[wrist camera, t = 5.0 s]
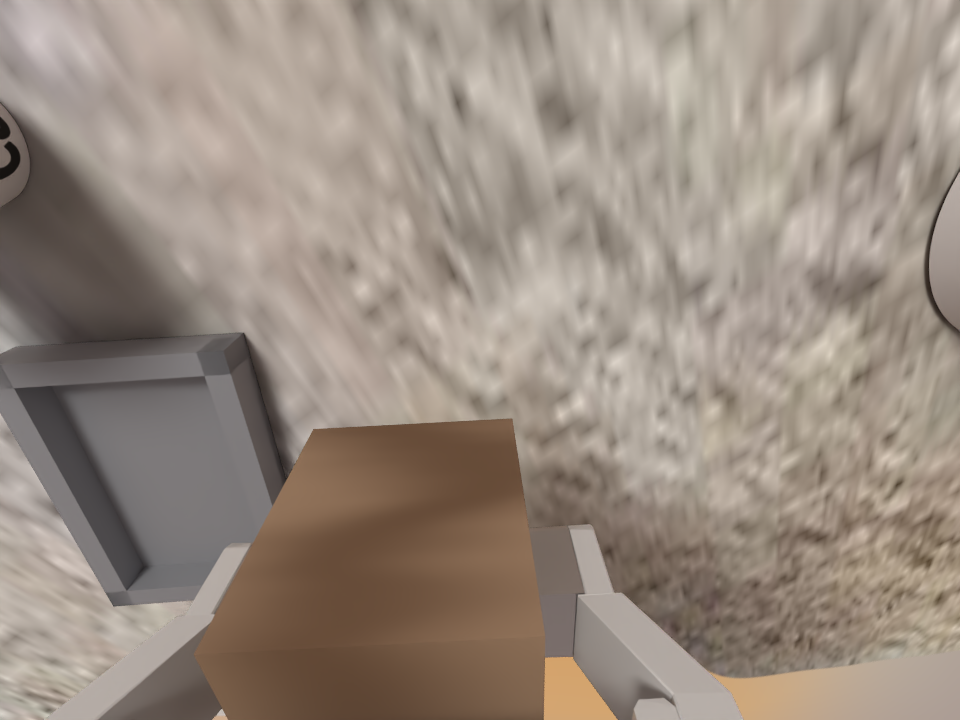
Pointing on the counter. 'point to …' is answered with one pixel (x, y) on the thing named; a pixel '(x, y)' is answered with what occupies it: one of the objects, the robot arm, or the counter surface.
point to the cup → (12, 158)
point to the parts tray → (147, 453)
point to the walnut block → (387, 585)
